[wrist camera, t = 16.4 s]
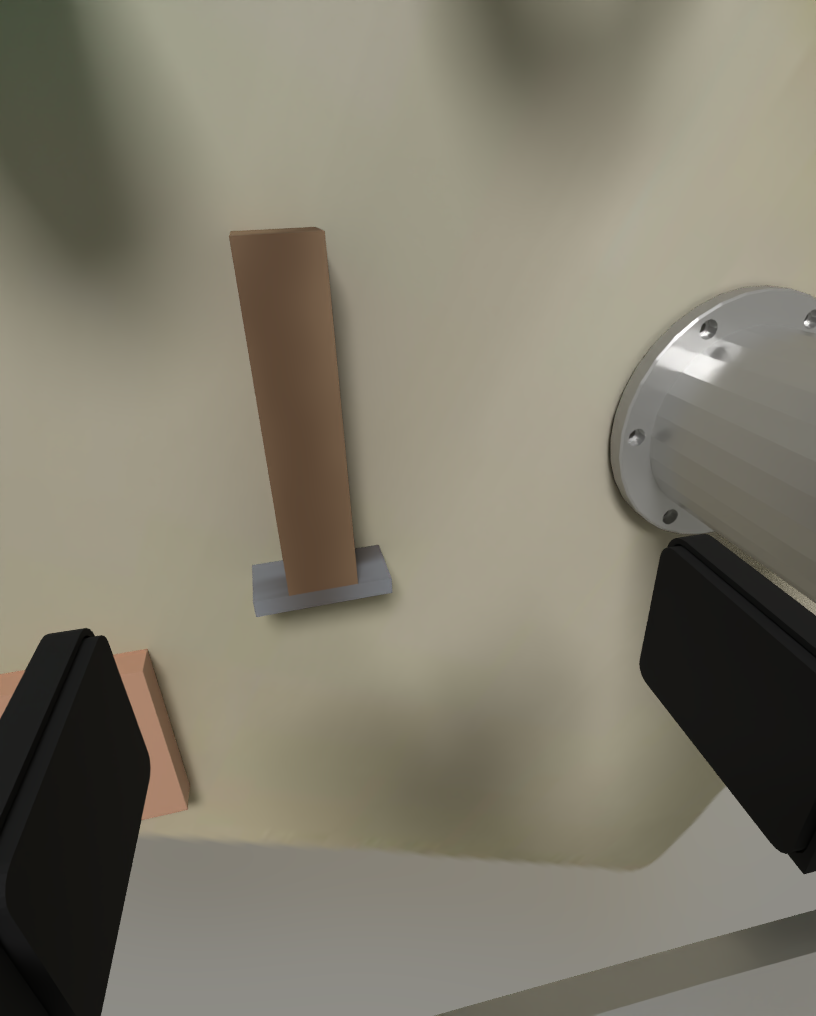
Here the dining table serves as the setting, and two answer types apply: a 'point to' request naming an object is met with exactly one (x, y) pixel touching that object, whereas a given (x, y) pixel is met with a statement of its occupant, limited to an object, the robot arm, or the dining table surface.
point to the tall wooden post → (301, 423)
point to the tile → (151, 715)
